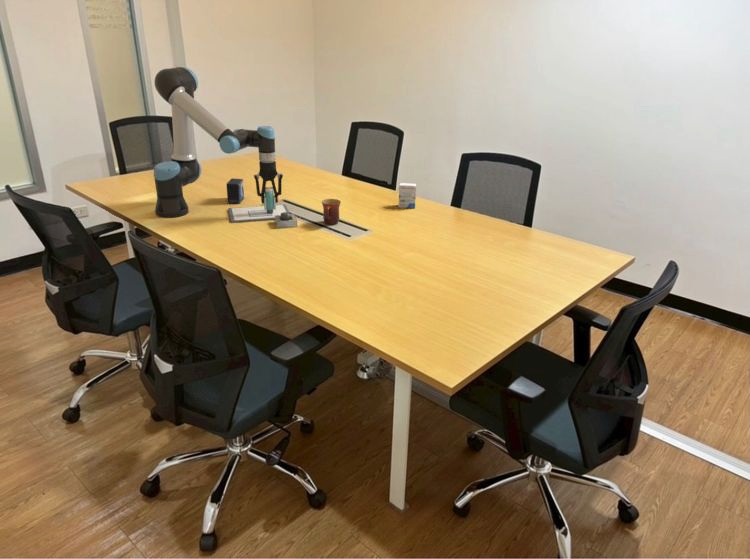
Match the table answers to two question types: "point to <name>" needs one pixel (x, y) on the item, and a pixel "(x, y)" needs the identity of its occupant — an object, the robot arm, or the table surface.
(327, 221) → the mug
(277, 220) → the button housing
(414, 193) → the ink box
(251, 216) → the sheet
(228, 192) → the small box
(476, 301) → the table surface
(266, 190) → the marker
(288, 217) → the button
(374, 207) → the table surface
